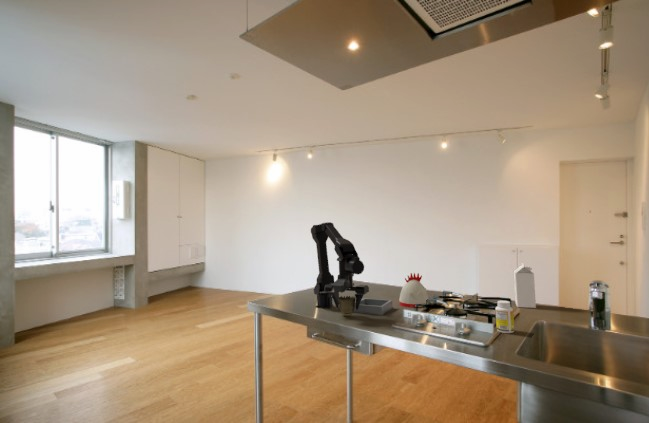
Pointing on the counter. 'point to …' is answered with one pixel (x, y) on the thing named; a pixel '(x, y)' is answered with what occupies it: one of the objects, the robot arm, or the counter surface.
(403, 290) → the kitchen timer
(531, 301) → the milk carton
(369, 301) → the tray
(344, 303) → the cup
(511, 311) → the supplement bottle
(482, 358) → the counter surface
